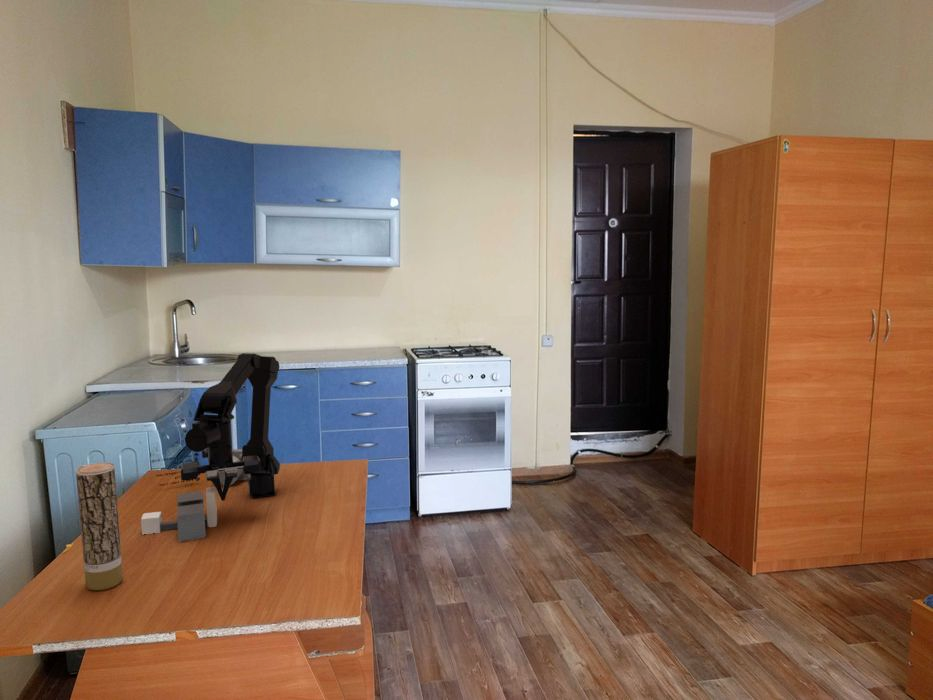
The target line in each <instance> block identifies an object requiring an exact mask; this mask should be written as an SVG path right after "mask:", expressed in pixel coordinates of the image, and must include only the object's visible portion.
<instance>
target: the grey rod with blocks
mask: <svg viewBox="0 0 933 700" xmlns="http://www.w3.org/2000/svg"><path fill="white" fill-rule="evenodd" d="M216 491H217V489H216V487H215V486H212V487H207V488H206V491H205V500H206V501H205V502H206V503H205V504H206V517H205V527H207V528H208V527H209V528H215V527H217V526H218V525H217V524H218V513H217V512H218V509H217V493H216ZM140 523H141V524H140V526H141V535H142V536H145V535H144V534H146V535H154V534H153V533H155V534H161V532H163V531H162V530H166V531H172V530H171V529H175V530H178V523H177V520H173V521H172V520H171V521H163V519H162V511H153V512H145V513H143V514H142V516H141V519H140Z"/></svg>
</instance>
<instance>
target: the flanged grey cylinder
mask: <svg viewBox="0 0 933 700" xmlns="http://www.w3.org/2000/svg"><path fill="white" fill-rule="evenodd" d="M232 454H233V462H237V461H241V458H242V448H237V449H236V448H232ZM193 455H194V457H196V459H195V460H194V462H197V464H198V465H199V462H198V461H197V460H199V452H195V453H194V454H193ZM193 455H192V454H191V455H190V454H189V455H185V458H191V457H193ZM182 457H183V456H181V455H180V457H179V456H176V457H171V458H170V457H169V458H161V459H159V458H158V459H153V460H151V462H152V463H155V462H160V461H162V462H163V461H164V462H166V461H169V460H177V459H182ZM185 462H186V463H188V462H189V463H193V460H192V459H187V460H186V461H185V460H182V461H181V460H180V461H173V462H172V463H173V465H175V464H177V465H178V464H185ZM178 469H181V465H179V466H174V467H168V470H169V471H170V470H178ZM212 469H213V468H212ZM179 473H180V474H181V471H175V472H174V471H173V472H168V473H162V474H161V473H160V474H156V475H155V476H156V477H163V476H170V475H171V476H173V475H176V474H179ZM218 473H219V478H220V482H221V486H222V485H223V480H224V471H218ZM200 475H201V474H198V476H200ZM179 478H180V479H181V475H180V476H179V475H178V476H175V477H174V479H175V480H178V479H179ZM248 478H250V474H244V470H243V468H242V469H237V477H235V478H233V480H232V482H231V484H230V486H232V485H233V484H235V483H236V481H248ZM191 481H192V482H191ZM193 481H194V479H193V480H185V481H183V480H181V481H174V482H167V483H161V484H158V486H159V487H162V486H168V485H174V484H179V483H185V482H187V483H188V482H191V483H189V485H194V482H193ZM195 481H196V482H199V481H200V477H197V478H196V479H195ZM184 486H188V484H186V483H185V484H184Z"/></svg>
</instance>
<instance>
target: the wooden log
mask: <svg viewBox="0 0 933 700" xmlns="http://www.w3.org/2000/svg"><path fill="white" fill-rule="evenodd" d="M75 477H76V478H75V479H76V489H77V500H78V511H79V522H80V533H81V534H80V536H81V544H82V555H83V556H82V557H83V566H84V567H83V568H84V579H85V587H86V588H87V589H89V590H90V591H91V590H92V591H104V590H110V589H112V588H113V587H114V588H115V587H116V586H118V585H119V584H120V583H122V581H123V578H124V575H123V563H122V561H123V558H122V549H121V548H122V547H121V546H122V545H121V535H120V525H119V524H120V522H119V521H120V520H119V509H118V508H119V506H118V495H117V485H116V483H117V482H116V472H115V464H114V463H111V462H96V463H95V462H94V463H88V464H85V465H82V466H79V467H78V468H76V470H75Z"/></svg>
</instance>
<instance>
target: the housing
mask: <svg viewBox="0 0 933 700" xmlns="http://www.w3.org/2000/svg"><path fill="white" fill-rule="evenodd" d="M176 502H177V507H176V508H177V509H176V521H177V523H178V529H177V535H178V536H177V537H178V542H179V541H184V542H186V541H185V540H190V541H193V540H192V539H197V540H201V539H200V538H203V539H206V538H205V537H207V536H206V535H207V533H206V526H205V518H206V517H205V505H204V492H203V490H198V491H190V492H183V493H178V494H177V501H176Z"/></svg>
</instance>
